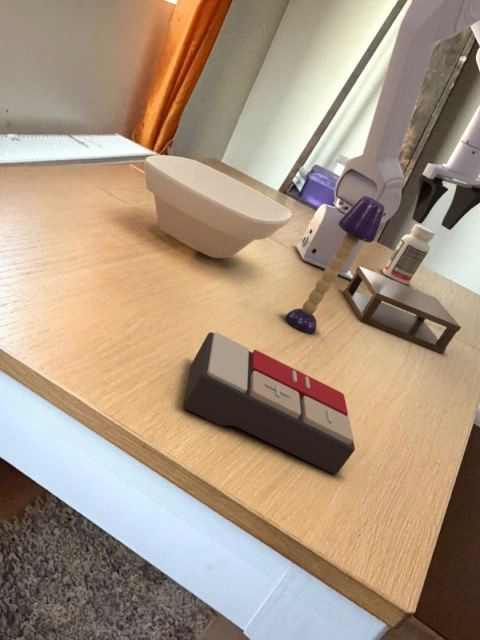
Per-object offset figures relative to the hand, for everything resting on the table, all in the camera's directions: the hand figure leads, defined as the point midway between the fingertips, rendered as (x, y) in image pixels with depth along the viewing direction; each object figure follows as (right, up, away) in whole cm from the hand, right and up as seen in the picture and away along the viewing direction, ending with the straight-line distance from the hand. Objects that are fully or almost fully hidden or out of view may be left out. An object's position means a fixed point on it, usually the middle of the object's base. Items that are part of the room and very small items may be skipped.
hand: (431, 224), depth 136 cm
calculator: (-45, -43, -65) cm, 90 cm away
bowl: (-46, -13, -26) cm, 55 cm away
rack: (-15, -23, -20) cm, 34 cm away
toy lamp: (-34, -28, -38) cm, 59 cm away
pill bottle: (-4, -8, +7) cm, 11 cm away
